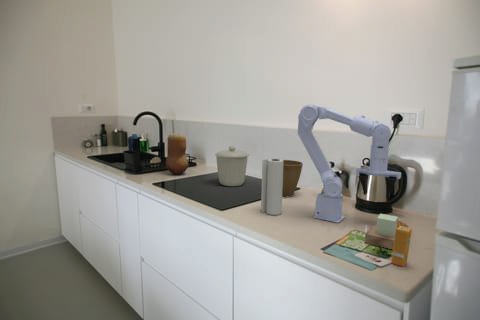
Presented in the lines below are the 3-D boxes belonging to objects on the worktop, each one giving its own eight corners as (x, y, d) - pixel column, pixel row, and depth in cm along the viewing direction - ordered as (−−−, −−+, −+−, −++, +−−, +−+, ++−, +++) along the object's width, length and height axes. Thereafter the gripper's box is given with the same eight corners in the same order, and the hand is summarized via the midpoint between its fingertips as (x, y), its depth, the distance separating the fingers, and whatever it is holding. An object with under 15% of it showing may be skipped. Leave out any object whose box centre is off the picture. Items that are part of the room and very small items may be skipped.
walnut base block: (364, 243, 98) (365, 233, 97) (372, 233, 106) (372, 224, 105) (400, 251, 92) (401, 242, 92) (405, 240, 100) (406, 231, 100)
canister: (250, 181, 178) (251, 144, 175) (245, 189, 161) (246, 148, 157) (219, 179, 181) (219, 143, 178) (211, 187, 164) (211, 147, 160)
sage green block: (375, 233, 98) (377, 217, 97) (379, 228, 102) (380, 213, 101) (393, 237, 95) (394, 221, 94) (396, 232, 99) (397, 216, 98)
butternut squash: (192, 173, 198) (192, 133, 194) (180, 177, 186) (179, 135, 182) (174, 171, 203) (173, 132, 199) (161, 175, 191) (159, 133, 187)
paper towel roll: (284, 213, 125) (286, 159, 121) (275, 216, 121) (277, 161, 117) (270, 208, 130) (272, 157, 126) (260, 212, 126) (262, 159, 122)
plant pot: (279, 200, 142) (280, 165, 139) (264, 192, 156) (265, 160, 153) (307, 197, 147) (309, 163, 145) (290, 189, 161) (292, 158, 158)
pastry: (408, 228, 111) (409, 218, 110) (407, 235, 105) (408, 224, 104) (379, 223, 115) (380, 213, 115) (376, 229, 110) (377, 219, 109)
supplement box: (404, 267, 83) (408, 231, 81) (390, 263, 85) (394, 228, 83) (408, 263, 85) (412, 228, 84) (394, 259, 87) (398, 224, 86)
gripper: (354, 158, 112) (352, 195, 114) (399, 161, 104) (396, 201, 106) (360, 155, 118) (357, 191, 120) (403, 159, 110) (400, 196, 112)
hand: (376, 195), depth 113 cm, fingers open, 7 cm apart
